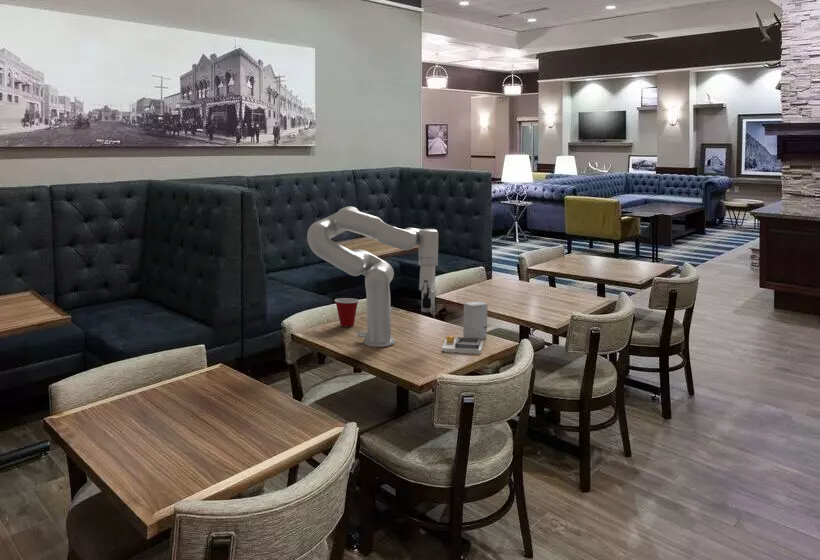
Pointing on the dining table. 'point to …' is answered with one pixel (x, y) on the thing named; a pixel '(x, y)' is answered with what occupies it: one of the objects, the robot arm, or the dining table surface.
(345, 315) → the plastic cup
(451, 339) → the button
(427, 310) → the block
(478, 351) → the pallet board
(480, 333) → the skincare box
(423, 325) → the dining table surface
